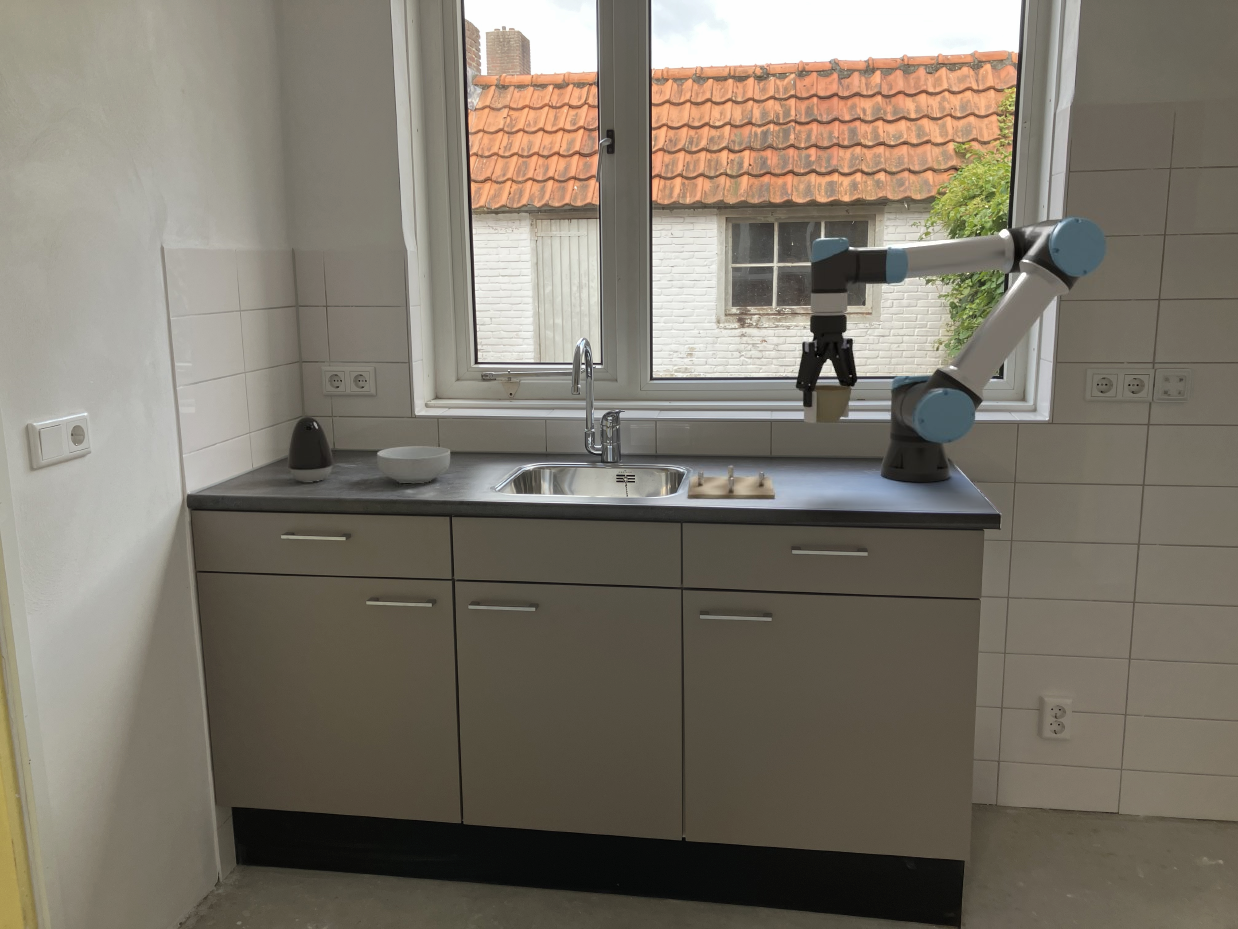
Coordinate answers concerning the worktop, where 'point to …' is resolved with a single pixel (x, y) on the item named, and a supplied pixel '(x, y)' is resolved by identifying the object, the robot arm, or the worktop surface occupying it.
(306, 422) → the black egg-shaped dome
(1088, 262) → the robot arm
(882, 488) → the worktop surface
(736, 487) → the wooden peg board
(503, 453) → the worktop surface
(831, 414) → the flower pot
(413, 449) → the cereal bowl
